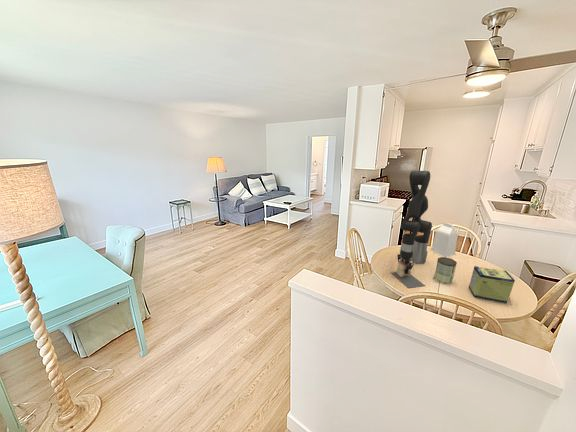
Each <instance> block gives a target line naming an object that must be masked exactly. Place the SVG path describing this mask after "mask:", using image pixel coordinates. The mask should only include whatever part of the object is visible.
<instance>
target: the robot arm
mask: <svg viewBox="0 0 576 432" xmlns="http://www.w3.org/2000/svg"><path fill="white" fill-rule="evenodd" d="M430 180H431V172H430V171H429V170H412V171H411V172H410V173H409V185H410V189H411V200H410V201H409V204H408V206H407V210H406V214H405V217H404V219H403V220H402V222H401V225H400V228H401V230H403V231H406V232H409V233H403V235H402V239H401V245H400V249H399V254H397V256H396V257H397V262H398V261H400V260H401V261H403V262H404V263H405V272H404V273H405V274H408V271H409V270H412V268H413V266H414V265H415V264H418V265H422V264H423V265H424V264H425V263H426V262H427V256H428V246H429V240H430V237H431V236H430V235H431V232H432V229H433V223H432V222H431V221H428V220H424V219H421V218H422V216H423V215H424V214H425V213H426V212H427V211H428V208H429V199H428V197H427V196H426V193H427V189H428V187H429V185H430ZM419 186H420V187H419ZM410 219H413V220H410ZM410 232H411V233H410ZM418 233H421V234H418ZM417 234H418V235H417ZM408 263H409V264H408ZM406 264H407V265H406ZM407 266H408V267H407Z"/></svg>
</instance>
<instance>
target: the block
mask: <svg viewBox="0 0 576 432" xmlns="http://www.w3.org/2000/svg"><path fill="white" fill-rule="evenodd" d="M408 264H409V263H408ZM406 265H407V264H406ZM396 266H397V267H396V272H397V273H396V274H398V275H399V276H400V277H404V276H410V274H411V270H412V269H411V270H409V271H408V274H405V273H404V272H405V263H404V262H403V261H401V260H399V261H398V260H397V265H396ZM407 267H408V266H407Z"/></svg>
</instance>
